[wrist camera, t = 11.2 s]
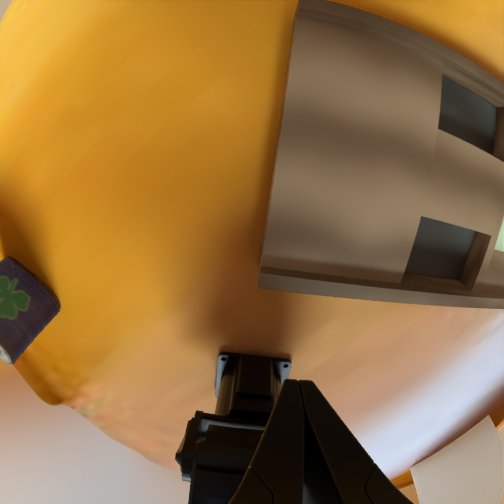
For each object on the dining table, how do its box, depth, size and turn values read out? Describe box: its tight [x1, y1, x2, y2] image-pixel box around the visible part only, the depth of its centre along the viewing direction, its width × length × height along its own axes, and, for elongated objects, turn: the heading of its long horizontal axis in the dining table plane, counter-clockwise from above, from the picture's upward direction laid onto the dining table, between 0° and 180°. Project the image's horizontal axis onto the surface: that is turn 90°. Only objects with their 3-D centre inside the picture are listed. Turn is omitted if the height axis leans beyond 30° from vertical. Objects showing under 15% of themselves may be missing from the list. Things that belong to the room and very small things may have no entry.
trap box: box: [258, 0, 504, 309], centre depth 16 cm, size 18×28×4 cm, turn 83°
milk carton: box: [410, 415, 504, 504], centre depth 24 cm, size 19×15×25 cm
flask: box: [0, 257, 61, 364], centre depth 17 cm, size 9×3×11 cm, turn 55°
